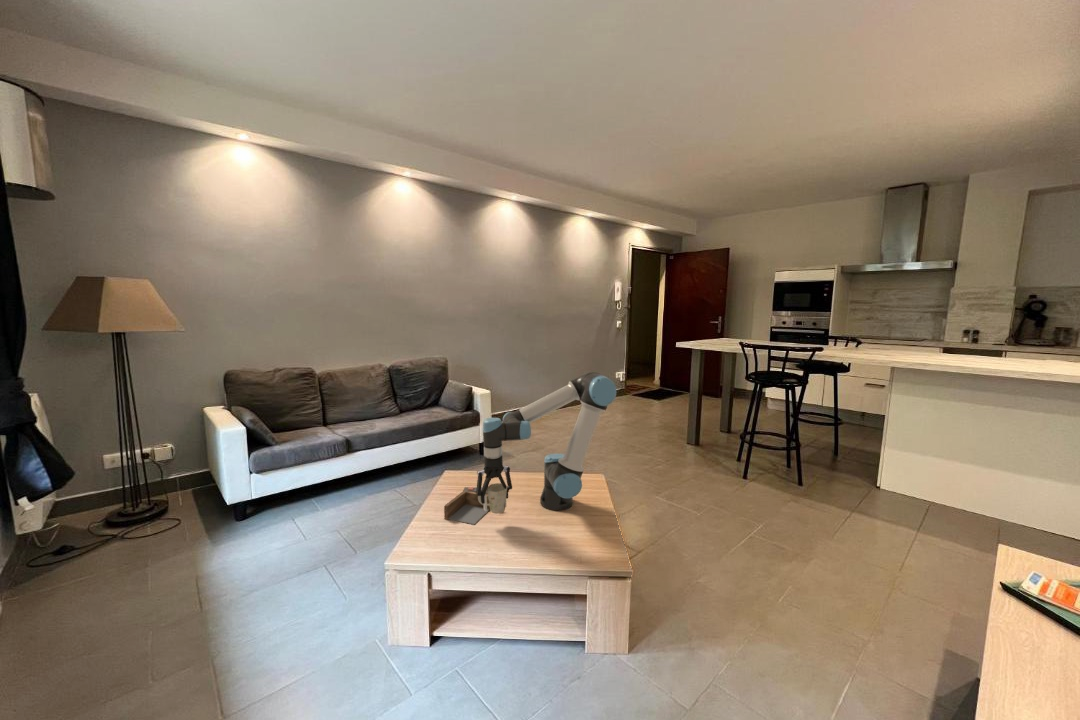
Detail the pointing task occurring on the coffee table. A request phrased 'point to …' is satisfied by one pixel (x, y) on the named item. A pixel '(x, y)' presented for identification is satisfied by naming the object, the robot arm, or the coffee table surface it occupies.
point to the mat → (469, 514)
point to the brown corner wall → (462, 503)
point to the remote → (471, 489)
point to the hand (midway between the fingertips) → (495, 507)
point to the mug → (496, 498)
